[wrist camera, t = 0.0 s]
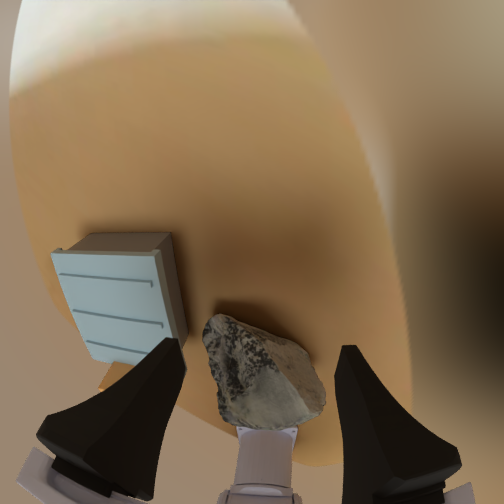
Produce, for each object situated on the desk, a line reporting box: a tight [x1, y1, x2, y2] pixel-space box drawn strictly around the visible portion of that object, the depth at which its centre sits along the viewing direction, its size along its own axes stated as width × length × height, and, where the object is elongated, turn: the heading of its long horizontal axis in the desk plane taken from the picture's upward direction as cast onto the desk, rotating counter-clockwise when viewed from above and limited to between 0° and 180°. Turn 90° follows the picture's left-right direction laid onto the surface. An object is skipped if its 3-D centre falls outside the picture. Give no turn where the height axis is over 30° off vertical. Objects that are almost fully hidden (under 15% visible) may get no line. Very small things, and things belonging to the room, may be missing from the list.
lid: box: [50, 248, 187, 392], centre depth 18 cm, size 12×10×4 cm
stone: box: [202, 314, 326, 431], centre depth 21 cm, size 10×10×10 cm
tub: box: [68, 232, 189, 348], centre depth 21 cm, size 10×8×4 cm
